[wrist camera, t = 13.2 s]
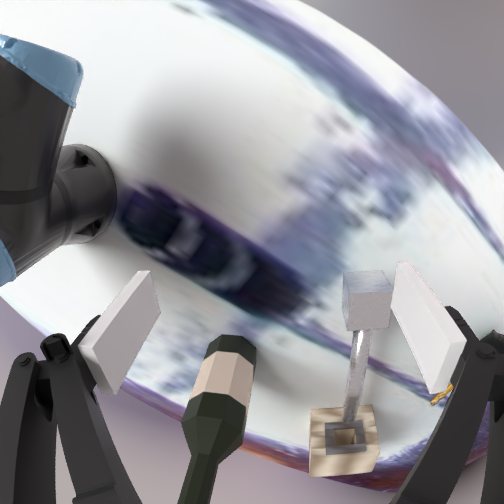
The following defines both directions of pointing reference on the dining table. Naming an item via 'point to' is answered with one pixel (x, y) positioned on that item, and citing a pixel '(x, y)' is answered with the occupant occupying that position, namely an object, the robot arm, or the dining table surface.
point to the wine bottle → (216, 413)
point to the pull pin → (362, 327)
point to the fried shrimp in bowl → (496, 340)
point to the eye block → (342, 442)
